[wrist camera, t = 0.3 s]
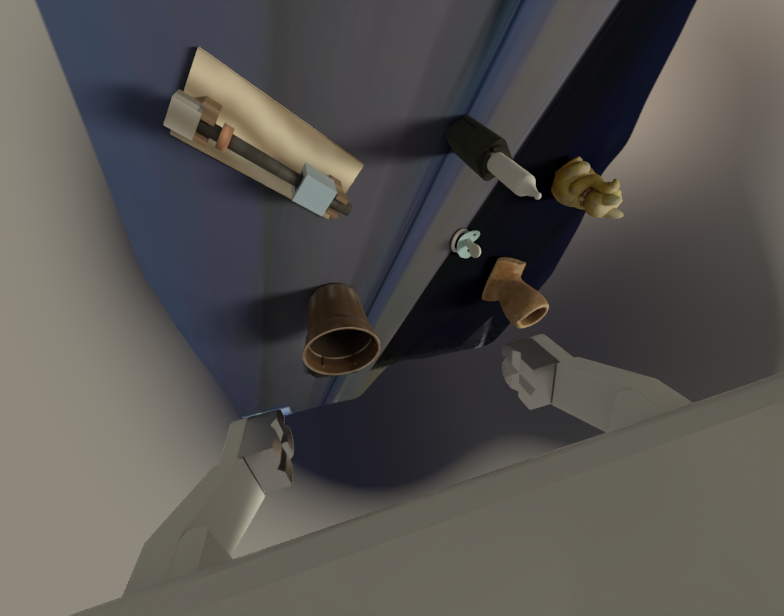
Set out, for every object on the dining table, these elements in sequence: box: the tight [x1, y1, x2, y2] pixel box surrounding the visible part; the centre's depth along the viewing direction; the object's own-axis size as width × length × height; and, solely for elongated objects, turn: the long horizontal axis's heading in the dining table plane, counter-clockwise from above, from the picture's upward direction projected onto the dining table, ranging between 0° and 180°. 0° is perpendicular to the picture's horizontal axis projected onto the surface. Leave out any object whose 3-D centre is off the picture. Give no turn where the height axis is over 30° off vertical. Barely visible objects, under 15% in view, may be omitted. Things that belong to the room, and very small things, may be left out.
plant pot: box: [303, 283, 380, 375], centre depth 71 cm, size 16×16×16 cm
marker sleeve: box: [291, 162, 337, 216], centre depth 49 cm, size 5×5×5 cm
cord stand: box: [163, 47, 364, 219], centre depth 47 cm, size 12×26×10 cm, turn 51°
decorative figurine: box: [551, 156, 624, 219], centre depth 63 cm, size 10×8×15 cm
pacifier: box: [451, 229, 481, 258], centre depth 71 cm, size 7×6×6 cm
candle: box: [445, 115, 542, 200], centre depth 48 cm, size 5×5×25 cm
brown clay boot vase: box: [482, 257, 549, 328], centre depth 81 cm, size 15×12×15 cm
